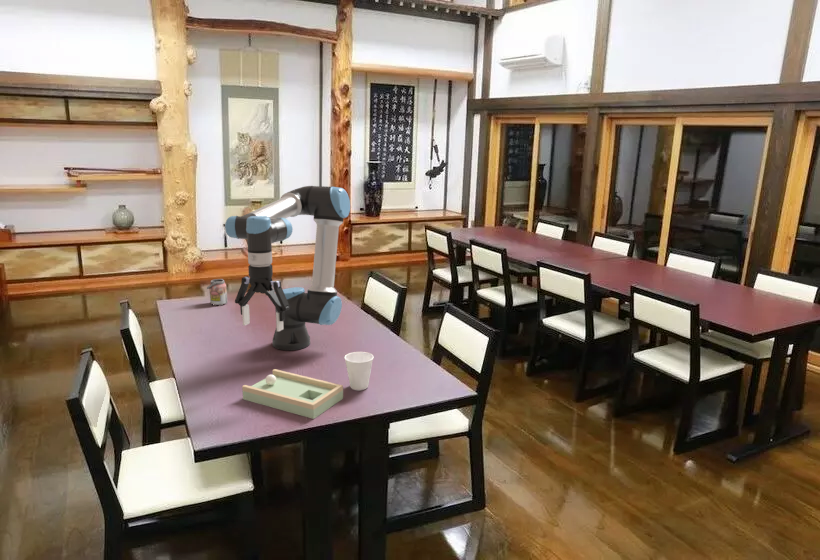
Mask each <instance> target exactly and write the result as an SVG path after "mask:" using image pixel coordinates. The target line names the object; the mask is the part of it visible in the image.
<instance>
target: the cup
mask: <svg viewBox="0 0 820 560" xmlns="http://www.w3.org/2000/svg"><path fill="white" fill-rule="evenodd" d="M374 358H375V357H374V355H373V354H372V353H371V352H367V351H366V352H365V351H354V352H349V353H347V354H345V356H344V357H343V359H344V360H345V365H346V373H347V376H348V383H349V387H350V389H352V390H353V391H363V390H366V389H368V387H369V383H370V377H371V372H372V366H373V360H374Z"/></svg>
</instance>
